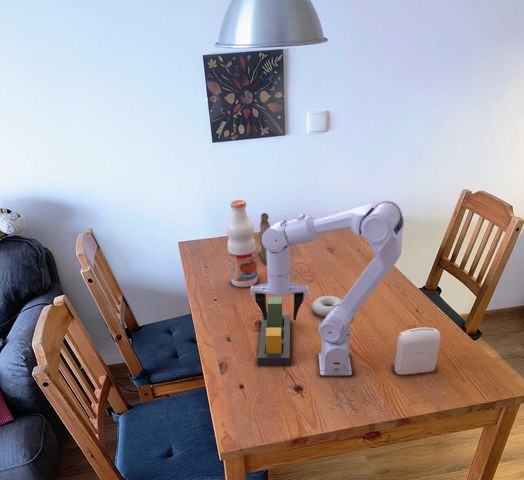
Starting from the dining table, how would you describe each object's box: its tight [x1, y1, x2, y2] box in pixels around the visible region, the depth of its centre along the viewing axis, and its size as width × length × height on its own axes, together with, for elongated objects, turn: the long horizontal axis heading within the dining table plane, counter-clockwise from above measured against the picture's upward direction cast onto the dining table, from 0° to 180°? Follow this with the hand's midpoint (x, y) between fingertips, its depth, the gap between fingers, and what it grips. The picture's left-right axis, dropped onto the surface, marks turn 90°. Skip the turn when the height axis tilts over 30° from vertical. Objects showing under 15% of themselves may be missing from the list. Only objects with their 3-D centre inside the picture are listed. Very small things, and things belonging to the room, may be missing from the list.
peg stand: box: [257, 314, 291, 366], centre depth 136 cm, size 22×8×2 cm, turn 177°
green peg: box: [267, 296, 284, 327], centre depth 139 cm, size 4×4×10 cm
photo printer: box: [394, 326, 441, 376], centre depth 120 cm, size 10×4×12 cm, turn 96°
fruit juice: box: [225, 199, 258, 288], centre depth 160 cm, size 9×9×28 cm
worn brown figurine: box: [258, 212, 271, 265], centre depth 180 cm, size 12×6×18 cm, turn 11°
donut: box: [312, 295, 343, 318], centre depth 148 cm, size 10×4×10 cm
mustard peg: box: [266, 327, 283, 354], centre depth 129 cm, size 4×4×8 cm
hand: (280, 318), depth 127 cm, fingers open, 7 cm apart
